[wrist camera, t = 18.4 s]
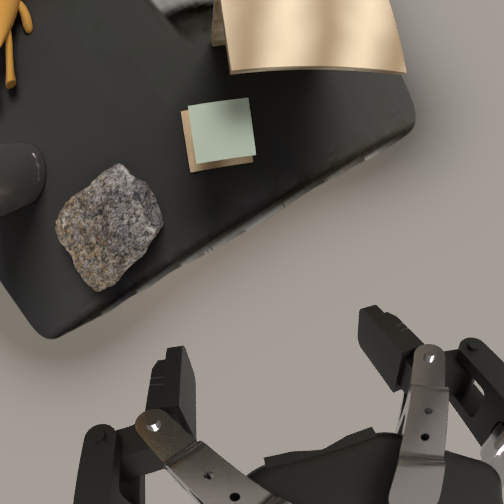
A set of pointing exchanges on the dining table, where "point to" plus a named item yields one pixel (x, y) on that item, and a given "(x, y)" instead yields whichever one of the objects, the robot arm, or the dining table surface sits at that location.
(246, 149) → the tin
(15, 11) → the toy
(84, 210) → the rock
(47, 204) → the dining table surface
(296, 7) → the shelf
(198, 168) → the mat
